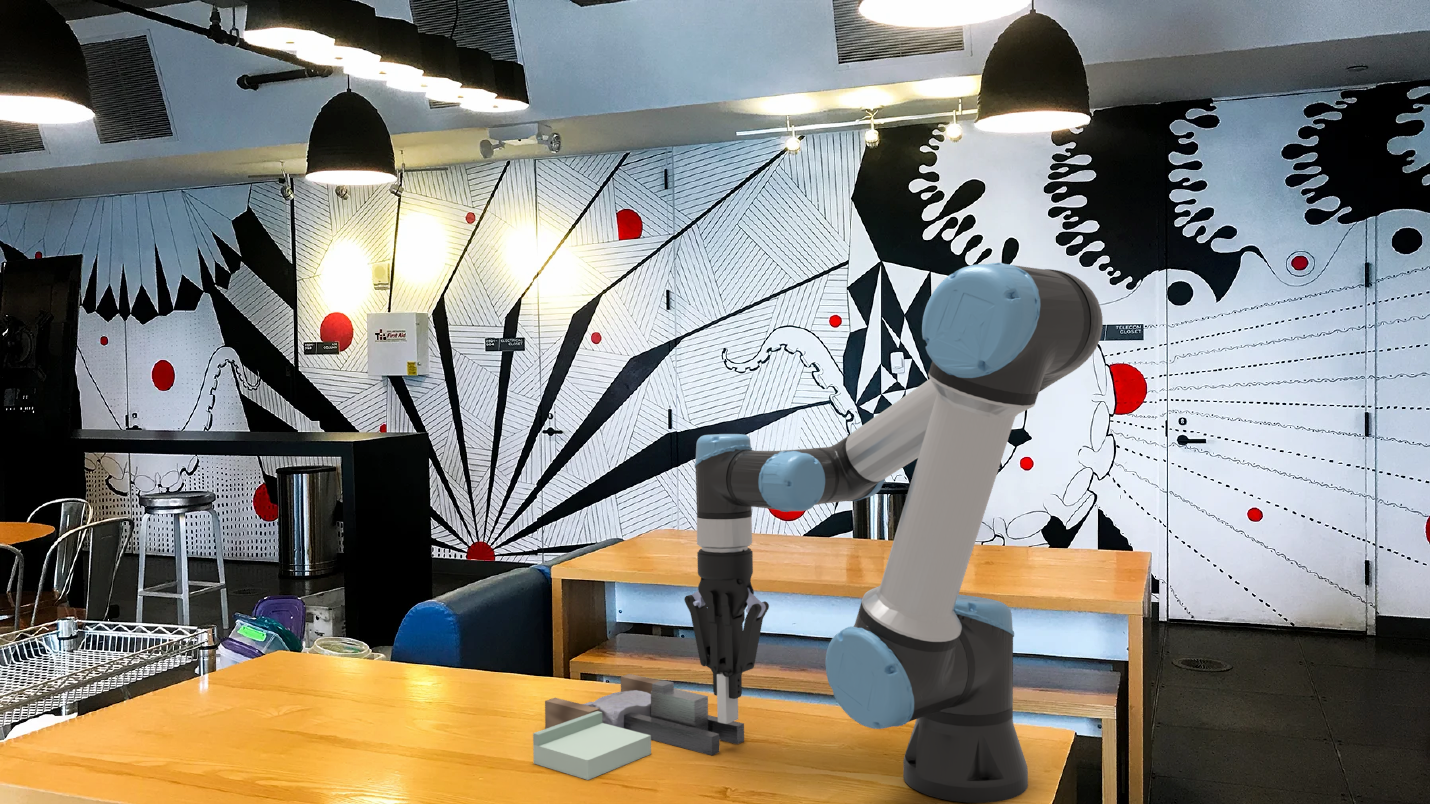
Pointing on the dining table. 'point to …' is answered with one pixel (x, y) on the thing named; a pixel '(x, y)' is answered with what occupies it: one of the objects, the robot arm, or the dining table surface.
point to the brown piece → (568, 710)
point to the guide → (687, 732)
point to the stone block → (622, 706)
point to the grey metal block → (679, 706)
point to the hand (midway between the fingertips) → (728, 720)
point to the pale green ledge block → (588, 746)
